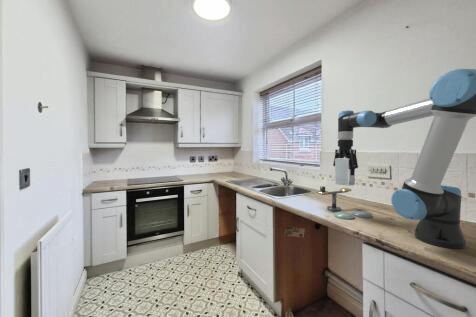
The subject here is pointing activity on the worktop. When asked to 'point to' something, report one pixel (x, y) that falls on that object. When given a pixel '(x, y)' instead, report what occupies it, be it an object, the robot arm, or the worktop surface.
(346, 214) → the dish green
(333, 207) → the post
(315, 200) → the worktop surface
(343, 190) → the balance beam
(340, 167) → the skincare box
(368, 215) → the dish grey
